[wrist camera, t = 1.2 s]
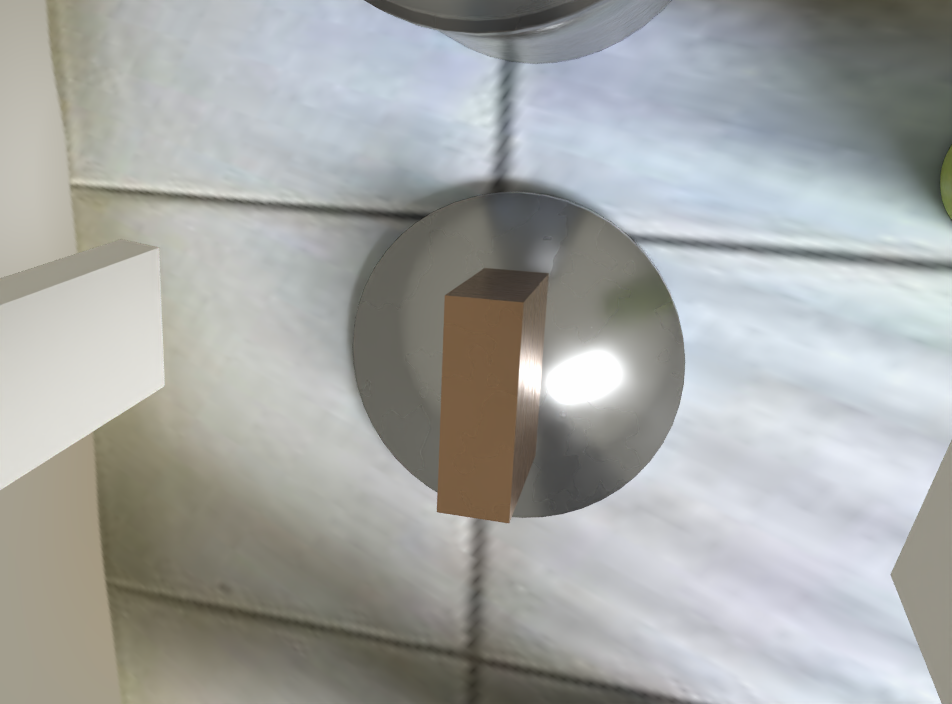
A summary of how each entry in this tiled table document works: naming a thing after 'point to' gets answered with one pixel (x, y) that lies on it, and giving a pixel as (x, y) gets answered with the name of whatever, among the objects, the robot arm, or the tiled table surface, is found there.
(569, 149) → the tiled table surface
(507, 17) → the grey saucepan
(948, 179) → the plant pot
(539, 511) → the lid
